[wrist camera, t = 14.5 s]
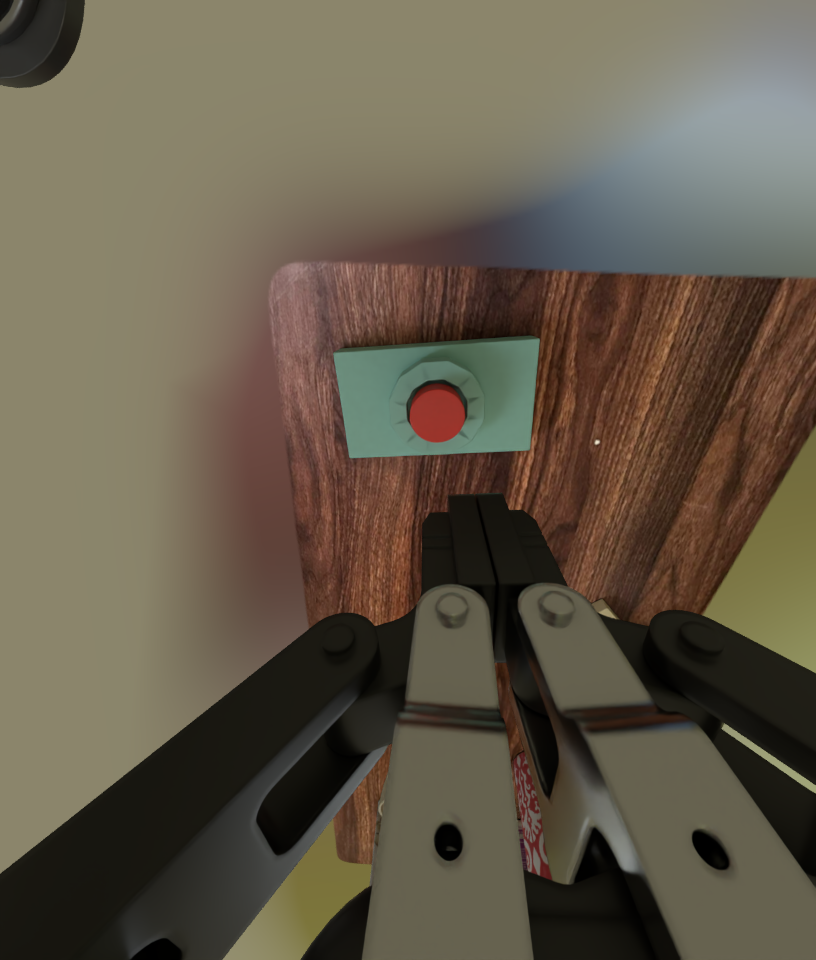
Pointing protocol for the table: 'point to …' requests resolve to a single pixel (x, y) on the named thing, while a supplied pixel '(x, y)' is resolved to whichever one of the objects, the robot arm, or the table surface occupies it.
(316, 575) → the table surface
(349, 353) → the block
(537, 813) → the mug
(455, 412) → the button
